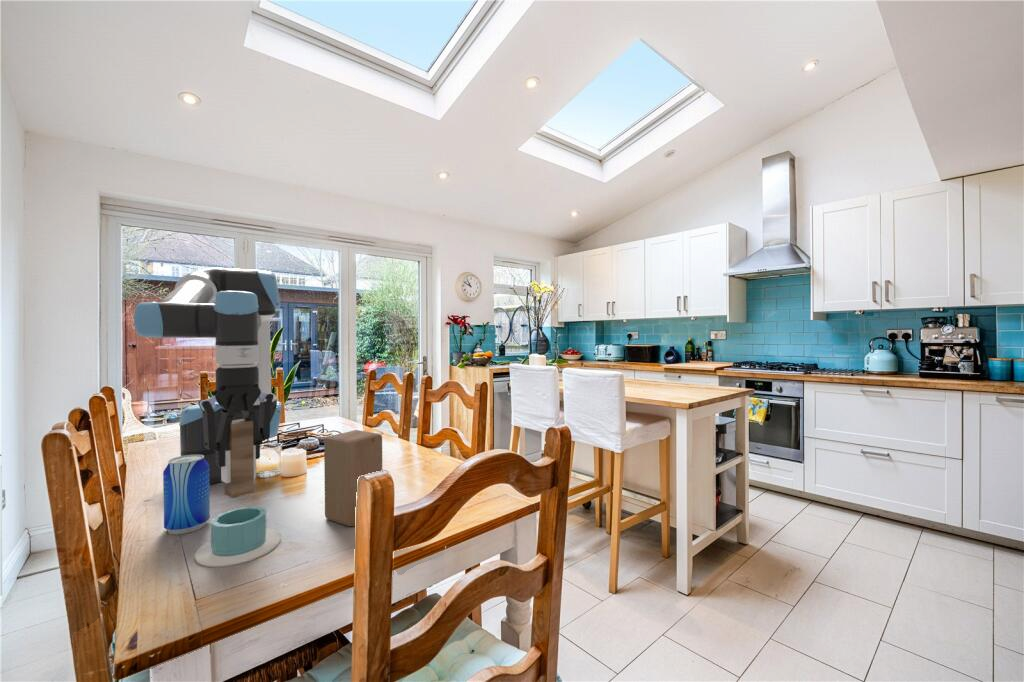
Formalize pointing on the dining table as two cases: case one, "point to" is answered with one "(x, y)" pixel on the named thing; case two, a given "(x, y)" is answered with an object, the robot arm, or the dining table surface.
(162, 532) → the dining table surface
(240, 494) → the tall brown block
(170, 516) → the beer can
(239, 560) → the teal cup on saucer
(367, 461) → the wooden block
